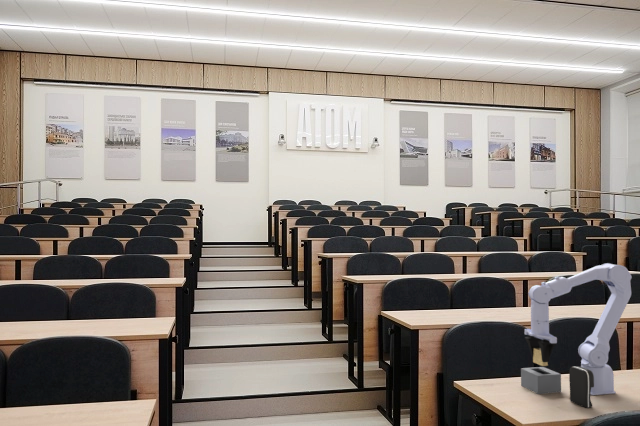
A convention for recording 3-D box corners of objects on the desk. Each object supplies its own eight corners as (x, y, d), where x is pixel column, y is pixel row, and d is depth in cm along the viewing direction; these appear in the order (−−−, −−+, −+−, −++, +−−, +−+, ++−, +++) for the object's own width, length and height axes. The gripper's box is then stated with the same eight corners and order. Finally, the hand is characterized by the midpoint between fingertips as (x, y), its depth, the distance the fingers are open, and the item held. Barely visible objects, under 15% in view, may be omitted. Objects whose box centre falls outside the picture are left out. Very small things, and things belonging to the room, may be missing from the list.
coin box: (543, 383, 174) (543, 366, 174) (561, 392, 165) (560, 374, 165) (521, 385, 172) (520, 368, 172) (537, 393, 163) (537, 375, 163)
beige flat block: (538, 361, 171) (537, 347, 171) (547, 365, 166) (547, 351, 166) (533, 362, 171) (532, 347, 171) (542, 366, 166) (542, 351, 166)
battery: (596, 407, 150) (595, 370, 151) (586, 408, 149) (586, 371, 150) (578, 400, 157) (577, 364, 158) (568, 401, 156) (568, 365, 156)
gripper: (516, 317, 175) (517, 355, 175) (543, 324, 161) (544, 366, 161) (534, 316, 177) (534, 354, 176) (562, 323, 163) (562, 364, 162)
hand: (540, 359), depth 169 cm, fingers closed on beige flat block, 5 cm apart
